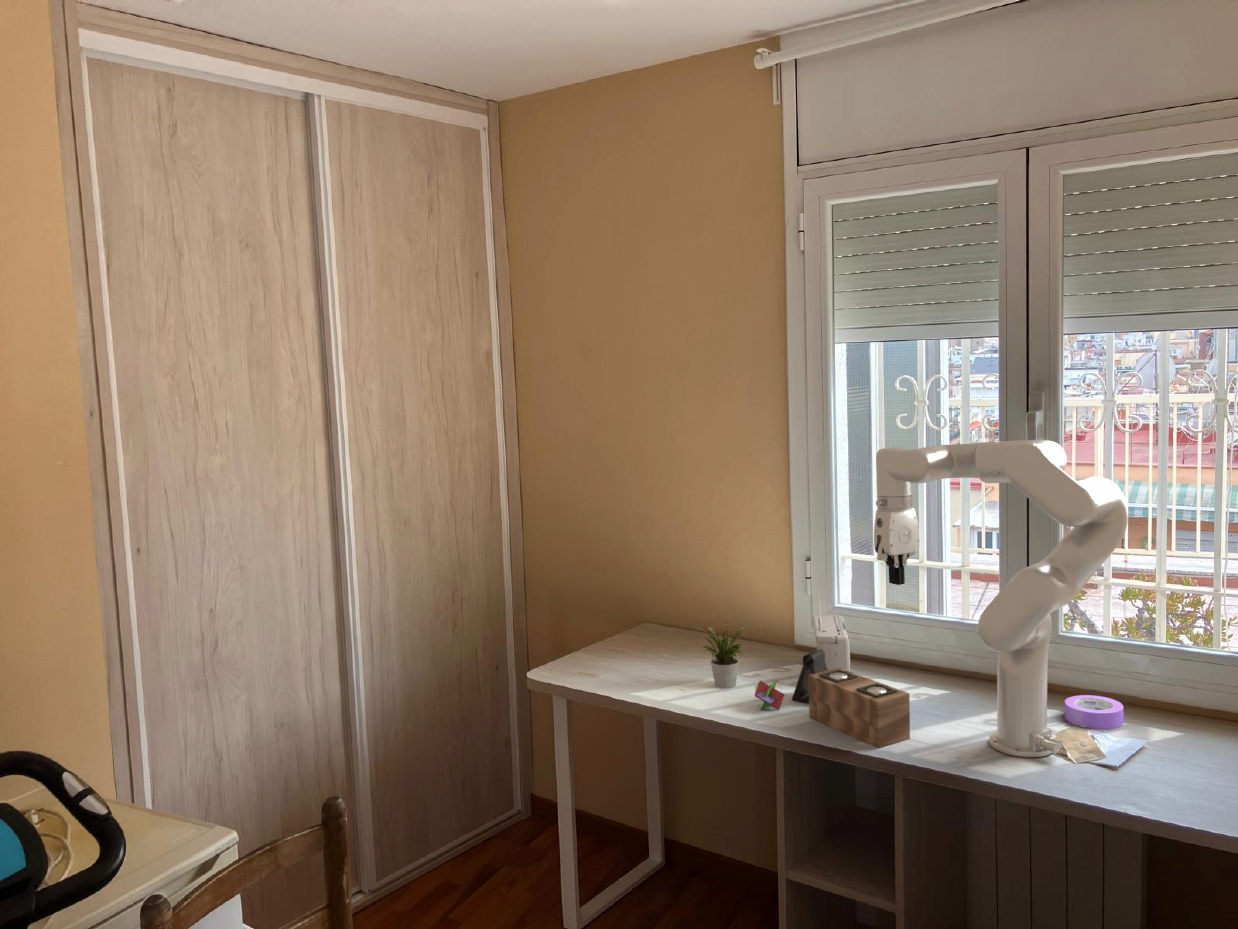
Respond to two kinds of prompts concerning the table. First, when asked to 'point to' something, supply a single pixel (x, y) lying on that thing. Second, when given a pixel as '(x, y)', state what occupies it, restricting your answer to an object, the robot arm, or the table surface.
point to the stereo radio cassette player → (832, 640)
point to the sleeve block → (859, 708)
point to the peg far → (838, 675)
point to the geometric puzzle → (768, 694)
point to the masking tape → (1094, 712)
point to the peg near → (876, 690)
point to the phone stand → (811, 665)
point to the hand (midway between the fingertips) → (896, 583)
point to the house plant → (724, 658)
